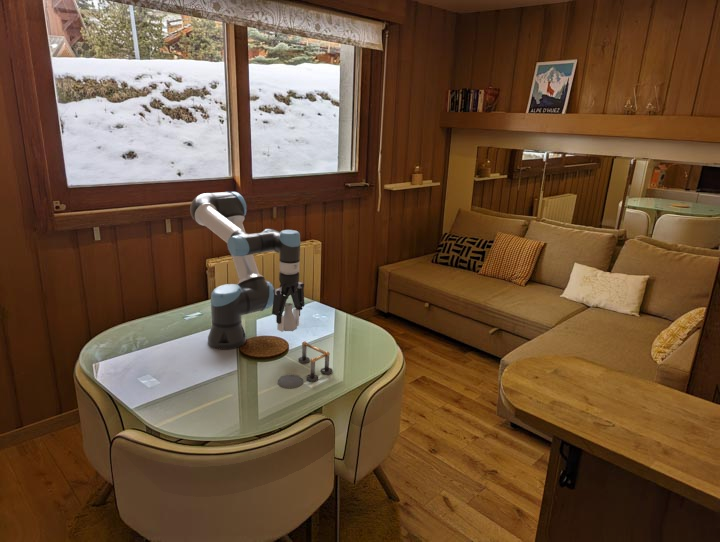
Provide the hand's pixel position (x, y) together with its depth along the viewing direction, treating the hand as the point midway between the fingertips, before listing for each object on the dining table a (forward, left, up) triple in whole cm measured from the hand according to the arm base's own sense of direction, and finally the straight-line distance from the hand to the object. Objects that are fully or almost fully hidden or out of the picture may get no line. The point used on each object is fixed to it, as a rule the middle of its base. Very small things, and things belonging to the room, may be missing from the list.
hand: (288, 327), depth 192 cm
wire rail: (+14, -3, -12) cm, 19 cm away
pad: (+16, -14, -12) cm, 24 cm away
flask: (0, 0, -1) cm, 1 cm away
